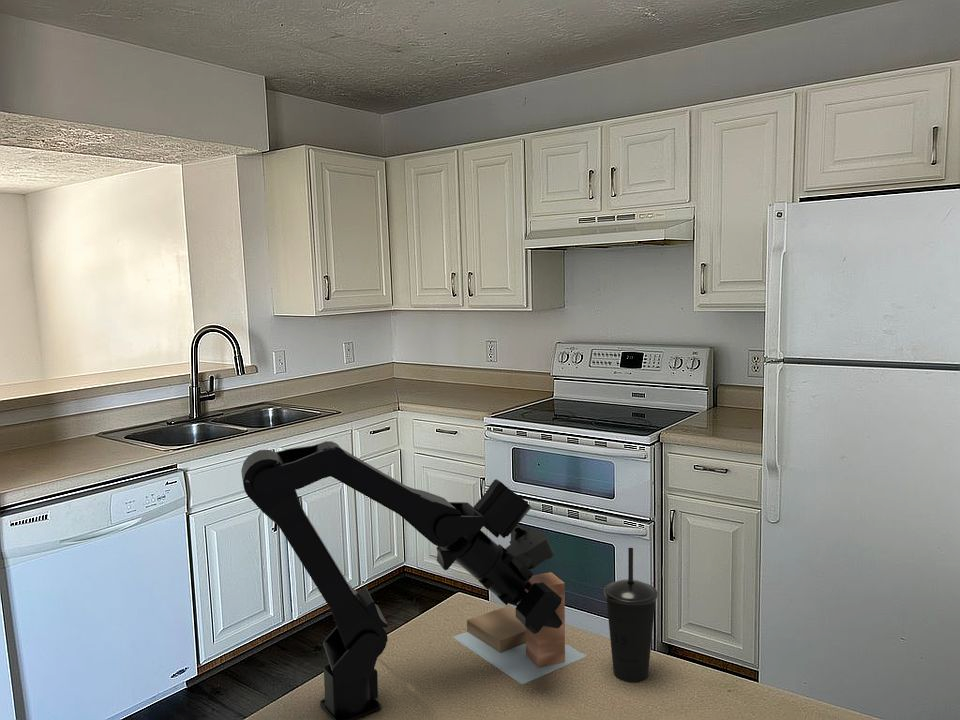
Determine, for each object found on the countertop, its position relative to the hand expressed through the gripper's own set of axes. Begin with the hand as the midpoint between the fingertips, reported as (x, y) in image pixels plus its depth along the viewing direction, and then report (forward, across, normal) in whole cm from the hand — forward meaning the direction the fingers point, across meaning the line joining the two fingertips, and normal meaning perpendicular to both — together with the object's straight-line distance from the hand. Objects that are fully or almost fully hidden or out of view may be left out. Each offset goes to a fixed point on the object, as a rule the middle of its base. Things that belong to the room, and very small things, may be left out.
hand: (553, 618), depth 111 cm
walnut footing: (+2, +10, +7) cm, 12 cm away
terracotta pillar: (+3, 0, +5) cm, 6 cm away
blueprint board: (+2, +5, +8) cm, 10 cm away
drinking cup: (+11, -9, -1) cm, 14 cm away
